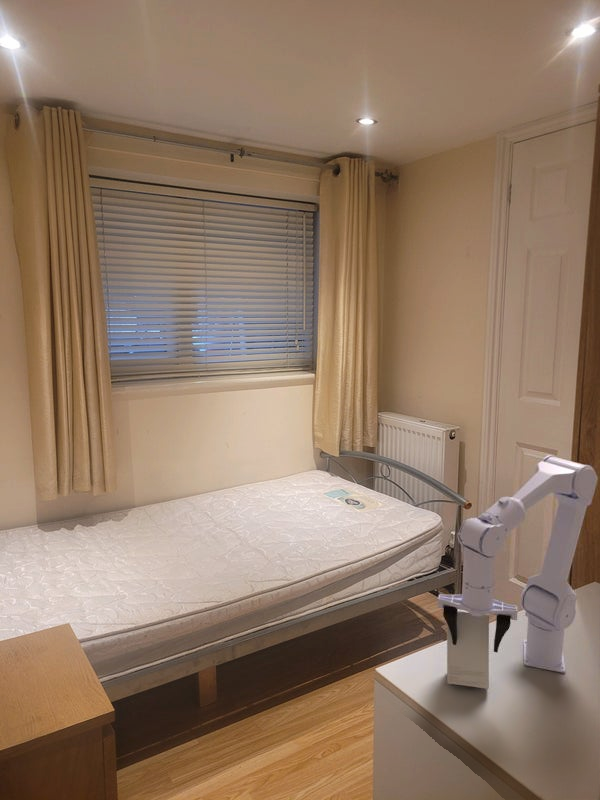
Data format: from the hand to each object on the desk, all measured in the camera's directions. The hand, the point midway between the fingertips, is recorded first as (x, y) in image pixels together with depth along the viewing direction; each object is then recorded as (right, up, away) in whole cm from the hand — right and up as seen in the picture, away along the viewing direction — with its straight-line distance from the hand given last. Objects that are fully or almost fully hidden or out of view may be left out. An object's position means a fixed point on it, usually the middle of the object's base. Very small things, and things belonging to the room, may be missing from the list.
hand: (475, 645), depth 113 cm
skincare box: (-1, -9, +4) cm, 10 cm away
